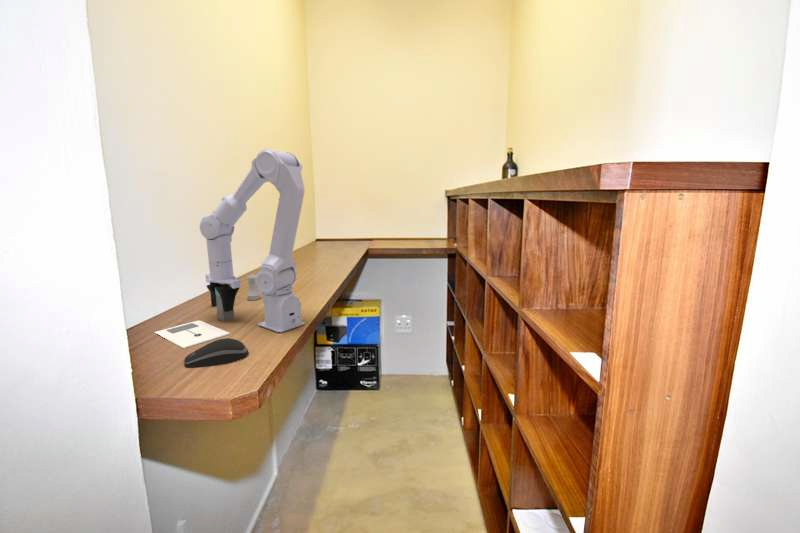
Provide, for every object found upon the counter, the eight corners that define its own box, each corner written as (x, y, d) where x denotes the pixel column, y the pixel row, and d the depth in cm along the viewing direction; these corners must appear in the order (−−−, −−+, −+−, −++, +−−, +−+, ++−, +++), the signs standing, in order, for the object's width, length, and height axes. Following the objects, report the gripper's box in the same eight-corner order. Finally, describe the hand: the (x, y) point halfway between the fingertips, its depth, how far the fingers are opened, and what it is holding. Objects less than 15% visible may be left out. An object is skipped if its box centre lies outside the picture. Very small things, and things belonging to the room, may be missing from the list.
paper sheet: (230, 334, 94) (230, 332, 94) (183, 348, 85) (183, 347, 85) (199, 321, 103) (198, 319, 103) (154, 333, 95) (153, 331, 95)
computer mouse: (185, 359, 81) (183, 341, 80) (247, 348, 86) (246, 331, 85) (183, 373, 75) (180, 353, 74) (250, 360, 80) (248, 342, 79)
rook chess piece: (256, 301, 122) (254, 276, 121) (243, 300, 123) (241, 276, 122) (263, 297, 126) (262, 273, 125) (251, 296, 127) (249, 273, 126)
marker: (234, 318, 105) (231, 287, 104) (223, 321, 103) (220, 289, 101) (228, 316, 107) (225, 285, 106) (217, 319, 105) (214, 287, 103)
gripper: (192, 260, 103) (197, 308, 106) (219, 266, 95) (225, 318, 97) (217, 256, 109) (222, 302, 111) (246, 262, 100) (250, 311, 103)
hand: (225, 309), depth 105 cm, fingers closed on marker, 3 cm apart
